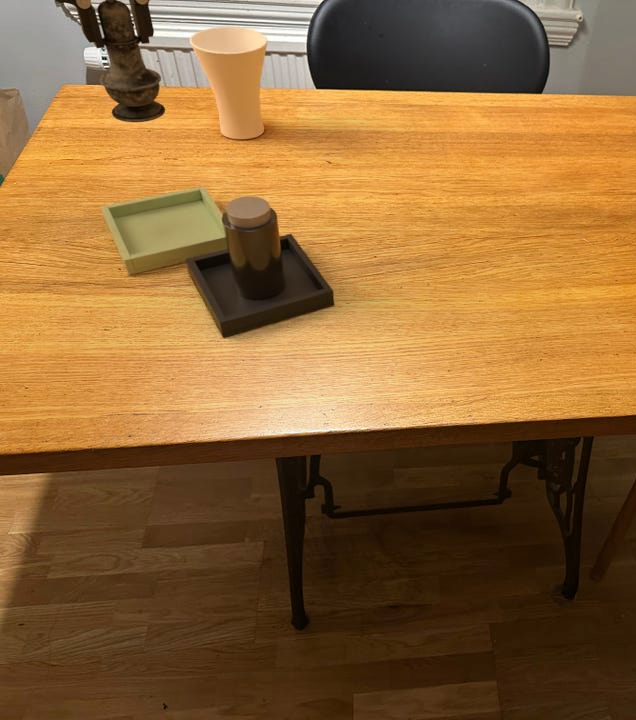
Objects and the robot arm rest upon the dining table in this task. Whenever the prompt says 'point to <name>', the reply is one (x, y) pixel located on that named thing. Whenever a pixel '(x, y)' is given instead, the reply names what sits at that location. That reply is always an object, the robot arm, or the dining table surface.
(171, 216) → the light tray
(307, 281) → the dark tray
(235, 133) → the cup
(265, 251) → the brown jar with lid
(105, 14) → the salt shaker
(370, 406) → the dining table surface
